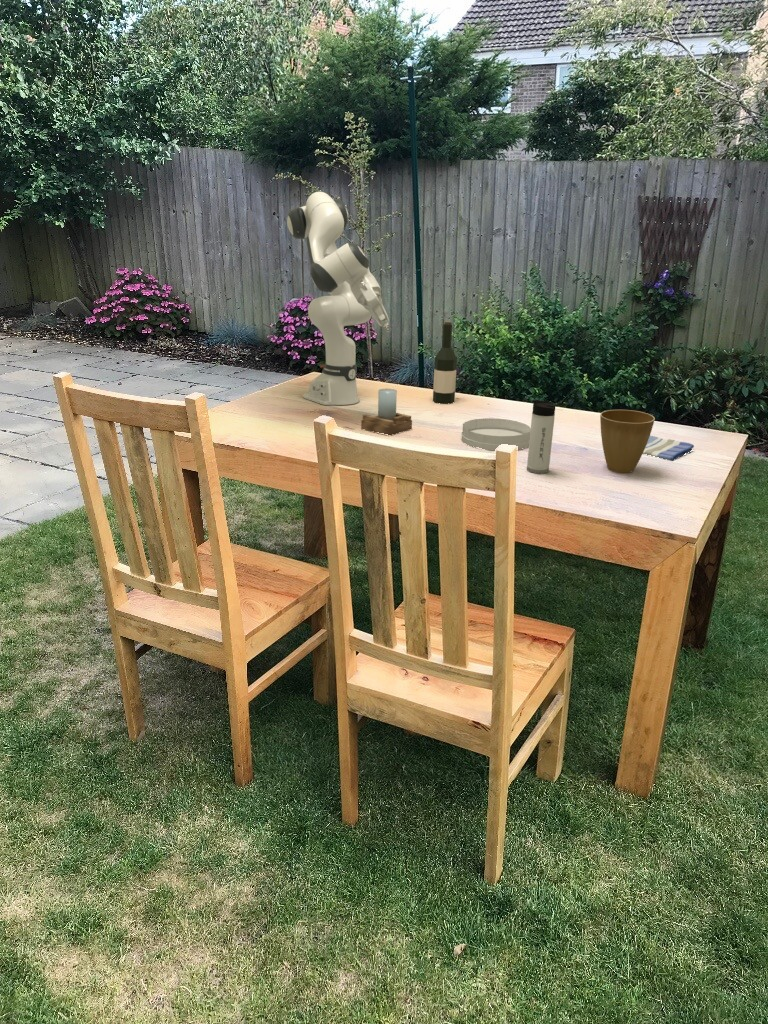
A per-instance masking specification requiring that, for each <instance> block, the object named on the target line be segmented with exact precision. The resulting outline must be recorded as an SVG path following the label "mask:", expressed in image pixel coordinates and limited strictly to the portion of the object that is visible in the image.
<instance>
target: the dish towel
mask: <svg viewBox="0 0 768 1024" xmlns="http://www.w3.org/2000/svg"><path fill="white" fill-rule="evenodd" d="M694 447H695V446H694V444H693V443H691V442H686V441H680V440H675V439H671V438H668V439H667V438H665V439H664V438H660V437H658V436H655V435H650V437H649V439H648V442H647V445H646V447H645V449H644V452H643V454H642V455H644V454H647V455H646V456H648V455H651V456H650V457H653V456H655V457H654V458H657V457H659V458H658V459H661V458H663V460H666V459H667V460H666V461H674V459H675V460H677V459H679V458H681V457H683V456H682V455H684V454H685V453H688V452H690V451H691V450H692V449H694ZM690 453H691V452H690ZM688 454H689V453H688ZM680 456H681V457H680ZM684 456H685V455H684ZM678 457H679V458H678Z"/></svg>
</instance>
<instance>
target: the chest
mask: <svg viewBox="0 0 768 1024" xmlns="http://www.w3.org/2000/svg"><path fill="white" fill-rule="evenodd" d="M360 422H361V425H360V427H361V428H360V429H361V430H363V429H365V430H364V431H367V430H370V431H369V432H371V431H374V432H373V433H375V432H379V433H384V434H388V435H391V436H393V435H392V434H394V435H396V433H397V434H400V433H399V432H401V433H404V432H407V431H409V430H410V429H411V430H413V420H412V416H411V415H408V414H403V413H400V412H396V417H394V418H393V421H391V420H387V419H383V418H379V417H378V415H376V416H373V415H370V414H363V415H362V420H361V421H360ZM403 431H404V432H403ZM379 433H378V434H379Z"/></svg>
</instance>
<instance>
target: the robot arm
mask: <svg viewBox="0 0 768 1024" xmlns="http://www.w3.org/2000/svg"><path fill="white" fill-rule="evenodd" d="M305 203H306V204H305V205H303V206H300V207H295V208H293V209H291V210H289V212H288V213H287V218H286V221H287V222H286V223H287V224H286V225H287V228H288V229H287V230H288V231H289V232H290V234H291V236H292V237H293V238H294V239H296V240H303V239H305V238H306V247H307V252H308V260H309V264H310V271H309V272H310V273H309V274H310V277H311V280H312V282H313V284H314V286H315V287H316V288H317V289H318V290H319V291H320V292H324V293H327V294H329V295H324V296H323V295H322V296H320V297H316V298H314V299H312V300H311V301H310V303H309V304H308V308H307V309H308V310H307V313H308V314H307V315H308V318H309V320H310V322H311V323H312V324H313V326H315V327H316V328H317V329H318V330H319V332H320V333H321V335H322V337H323V340H324V347H325V363H324V364H323V363H322V364H320V369H322V373H320V374H319V375H317V376H316V377H315V378H314V379H312V380H311V381H310V383H309V387H308V388H309V389H308V392H306V393H304V394H302V398H303V399H305V400H309V401H312V402H314V403H317V404H321V405H323V406H330V405H331V406H332V405H333V406H336V405H337V406H343V405H344V406H345V405H347V406H348V405H353V404H357V403H359V402H360V398H359V393H358V384H357V378H356V376H357V371H358V370H357V369H358V367H357V366H358V365H357V363H356V357H357V356H356V349H357V348H356V343H355V341H354V340H353V339H352V338H351V337H350V336H348V335H346V333H345V329H344V328H345V327H346V326H358V325H361V324H365V323H367V322H369V321H370V320H371V318H372V317H373V319H374V320H375V321H376V323H377V324H378V325H379V327H383V328H384V330H385V331H386V333H390V332H392V328H391V325H390V324H389V323H390V318H389V316H388V313H387V311H386V308H385V306H384V305H383V297H382V287H381V286H380V285H379V282H378V280H377V279H376V277H375V276H374V275H373V274H372V272H371V271H370V267H369V263H370V260H369V259H368V258H367V255H366V254H365V252H364V251H363V248H362V247H361V245H359V244H357V243H355V242H347V243H345V244H343V245H341V246H340V247H339V248H338V246H337V244H336V240H338V239H339V238H340V236H341V235H342V234H343V231H344V230H345V229H346V227H347V225H348V223H349V213H348V211H349V210H348V208H347V207H346V205H345V203H344V202H343V201H342V200H341V199H333V198H332V197H331V196H330V195H329V194H327V193H326V192H323V191H315V192H313V193H312V194H310V195H309V196H308V198H307V200H306V202H305Z"/></svg>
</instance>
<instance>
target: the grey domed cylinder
mask: <svg viewBox="0 0 768 1024" xmlns="http://www.w3.org/2000/svg"><path fill="white" fill-rule="evenodd" d="M377 391H378V397H377V399H378V401H377V404H378V405H377V407H378V408H377V416H378V417H379V418H383V419H387V420H391V421H393V418H394V417H396V413H397V400H398V399H397V393H398V391H397V390H396V389H394V388H381V389H378V390H377Z"/></svg>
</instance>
